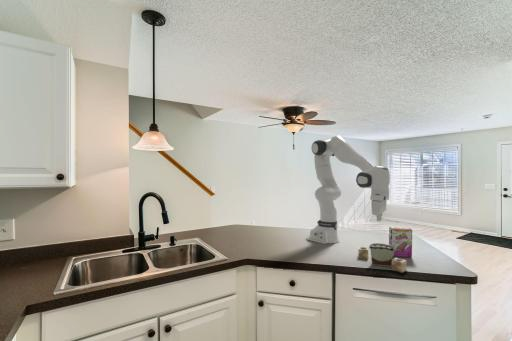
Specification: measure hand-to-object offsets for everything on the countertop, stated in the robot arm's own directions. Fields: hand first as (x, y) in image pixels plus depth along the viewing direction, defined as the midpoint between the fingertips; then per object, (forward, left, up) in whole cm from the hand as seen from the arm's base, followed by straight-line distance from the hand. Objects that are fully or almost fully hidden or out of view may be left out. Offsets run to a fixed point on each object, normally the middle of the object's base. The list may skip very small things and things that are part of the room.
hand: (379, 220), depth 137 cm
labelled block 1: (-9, +2, -23) cm, 24 cm away
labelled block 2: (+10, -7, -23) cm, 26 cm away
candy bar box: (+8, +16, -23) cm, 29 cm away
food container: (+1, -3, -23) cm, 23 cm away
